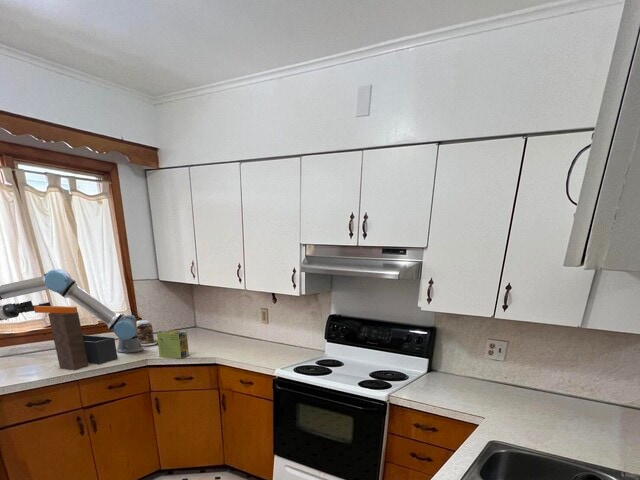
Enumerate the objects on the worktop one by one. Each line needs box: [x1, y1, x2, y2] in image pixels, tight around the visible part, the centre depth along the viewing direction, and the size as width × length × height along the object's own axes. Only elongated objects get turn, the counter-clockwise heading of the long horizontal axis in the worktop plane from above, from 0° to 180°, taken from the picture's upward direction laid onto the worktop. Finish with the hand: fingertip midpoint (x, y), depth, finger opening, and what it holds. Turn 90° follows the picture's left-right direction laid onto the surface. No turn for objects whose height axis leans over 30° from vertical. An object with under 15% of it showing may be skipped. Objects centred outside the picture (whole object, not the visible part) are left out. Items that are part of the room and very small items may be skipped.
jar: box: [136, 319, 155, 344], centre depth 308 cm, size 12×12×15 cm
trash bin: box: [82, 334, 119, 366], centre depth 255 cm, size 24×16×13 cm, turn 75°
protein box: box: [156, 329, 190, 359], centre depth 270 cm, size 10×15×16 cm
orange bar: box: [33, 305, 78, 314], centre depth 229 cm, size 20×4×3 cm, turn 94°
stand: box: [47, 311, 89, 371], centre depth 236 cm, size 10×10×30 cm
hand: (41, 303), depth 236 cm, fingers open, 13 cm apart
